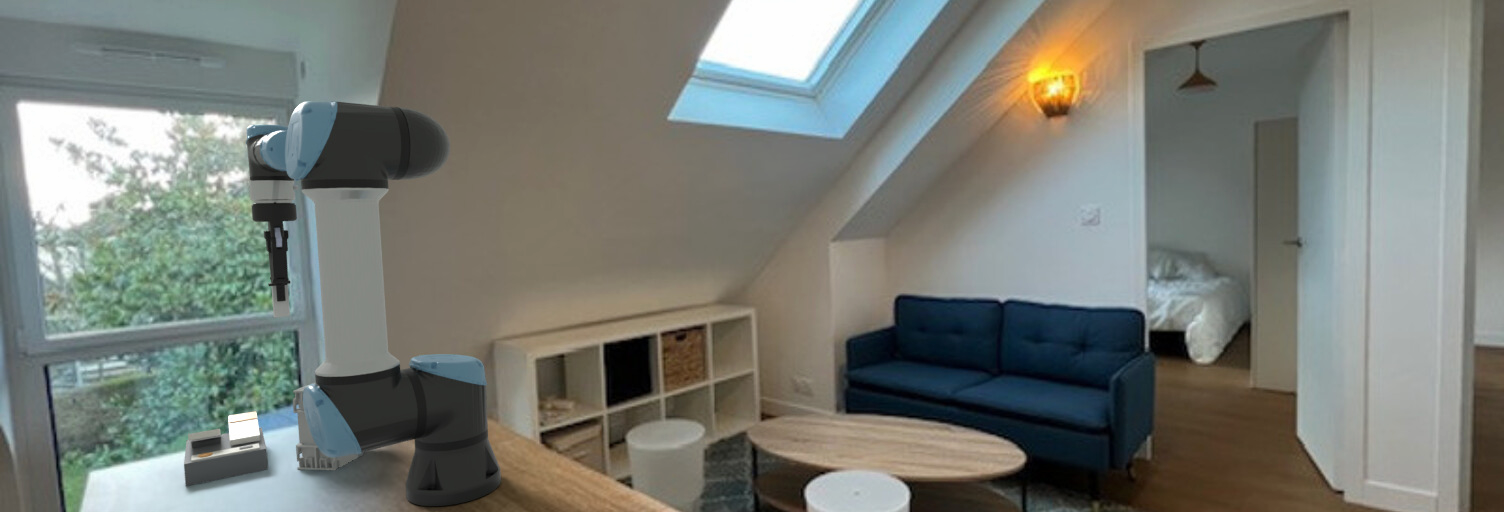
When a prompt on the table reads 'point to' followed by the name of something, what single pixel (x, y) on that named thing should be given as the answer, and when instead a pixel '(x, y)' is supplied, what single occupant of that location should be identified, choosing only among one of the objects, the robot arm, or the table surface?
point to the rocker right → (243, 428)
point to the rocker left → (204, 435)
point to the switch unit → (222, 458)
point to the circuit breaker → (313, 443)
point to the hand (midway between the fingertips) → (281, 316)
